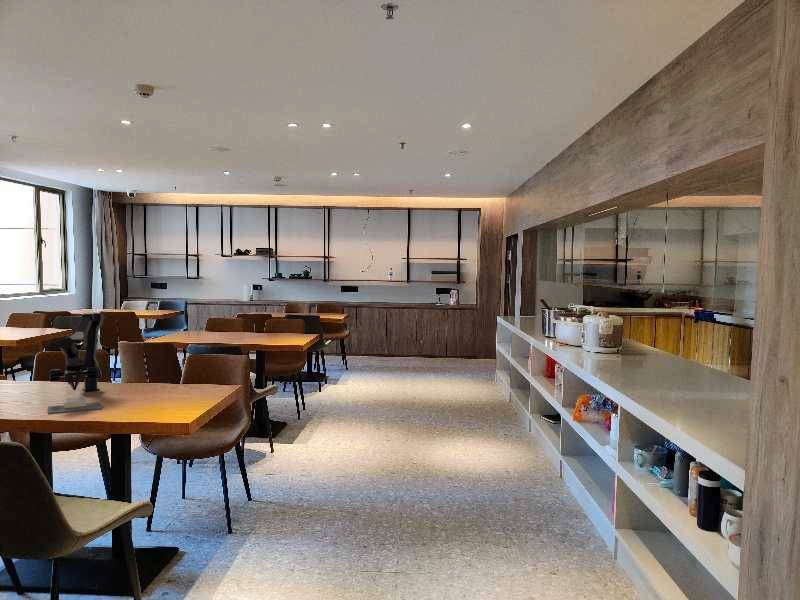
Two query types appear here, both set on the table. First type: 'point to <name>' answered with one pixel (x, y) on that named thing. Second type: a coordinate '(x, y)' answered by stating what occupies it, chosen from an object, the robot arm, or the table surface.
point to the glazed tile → (74, 402)
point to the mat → (62, 410)
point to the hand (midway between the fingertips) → (74, 389)
